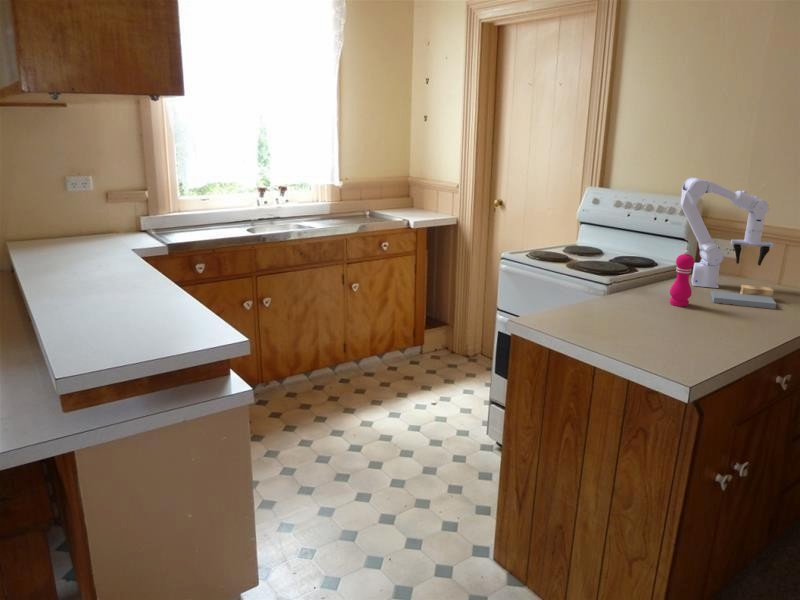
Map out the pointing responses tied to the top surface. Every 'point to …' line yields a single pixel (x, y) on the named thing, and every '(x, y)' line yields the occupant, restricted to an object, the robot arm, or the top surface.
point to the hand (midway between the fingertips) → (748, 264)
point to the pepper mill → (682, 280)
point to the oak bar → (757, 290)
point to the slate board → (743, 299)
